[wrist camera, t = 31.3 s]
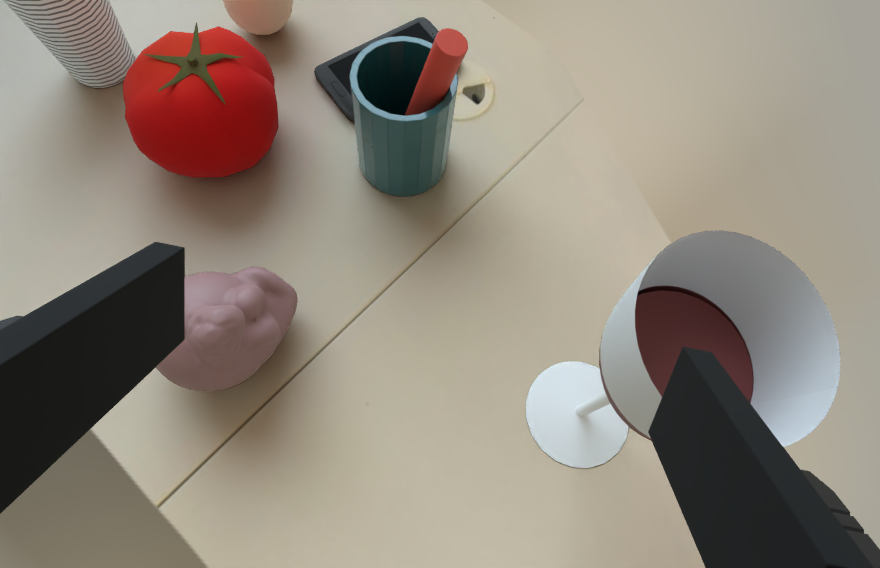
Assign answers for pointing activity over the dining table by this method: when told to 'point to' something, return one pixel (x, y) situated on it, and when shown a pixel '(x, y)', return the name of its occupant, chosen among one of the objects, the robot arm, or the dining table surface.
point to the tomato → (201, 103)
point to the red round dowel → (438, 71)
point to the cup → (80, 37)
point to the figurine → (229, 327)
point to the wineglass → (699, 327)
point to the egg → (259, 14)
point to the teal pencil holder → (398, 118)
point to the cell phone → (338, 69)
